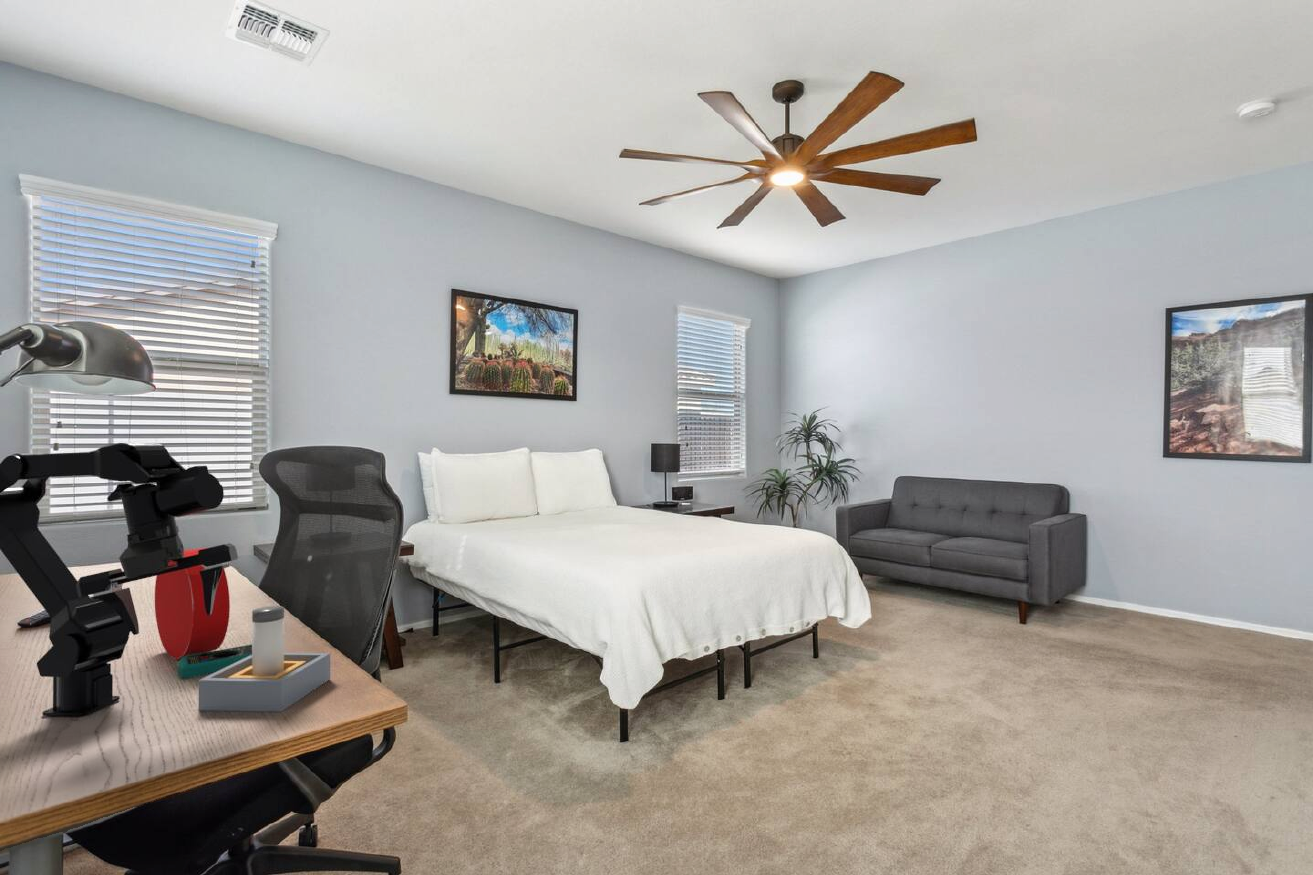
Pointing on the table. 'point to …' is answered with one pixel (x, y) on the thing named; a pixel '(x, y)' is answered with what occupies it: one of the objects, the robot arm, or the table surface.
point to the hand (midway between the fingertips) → (173, 624)
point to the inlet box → (263, 684)
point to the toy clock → (190, 611)
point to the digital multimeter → (211, 661)
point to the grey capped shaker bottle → (267, 641)
